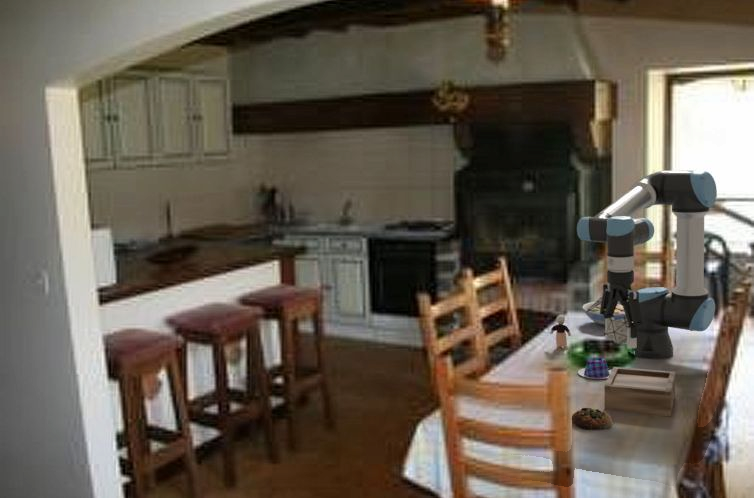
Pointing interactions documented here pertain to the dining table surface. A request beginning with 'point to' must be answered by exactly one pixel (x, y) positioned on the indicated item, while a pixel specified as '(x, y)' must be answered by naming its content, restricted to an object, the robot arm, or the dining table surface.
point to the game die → (618, 331)
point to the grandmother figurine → (561, 333)
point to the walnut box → (640, 391)
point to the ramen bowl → (594, 314)
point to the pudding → (595, 369)
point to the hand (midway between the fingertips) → (620, 343)
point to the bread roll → (591, 419)
